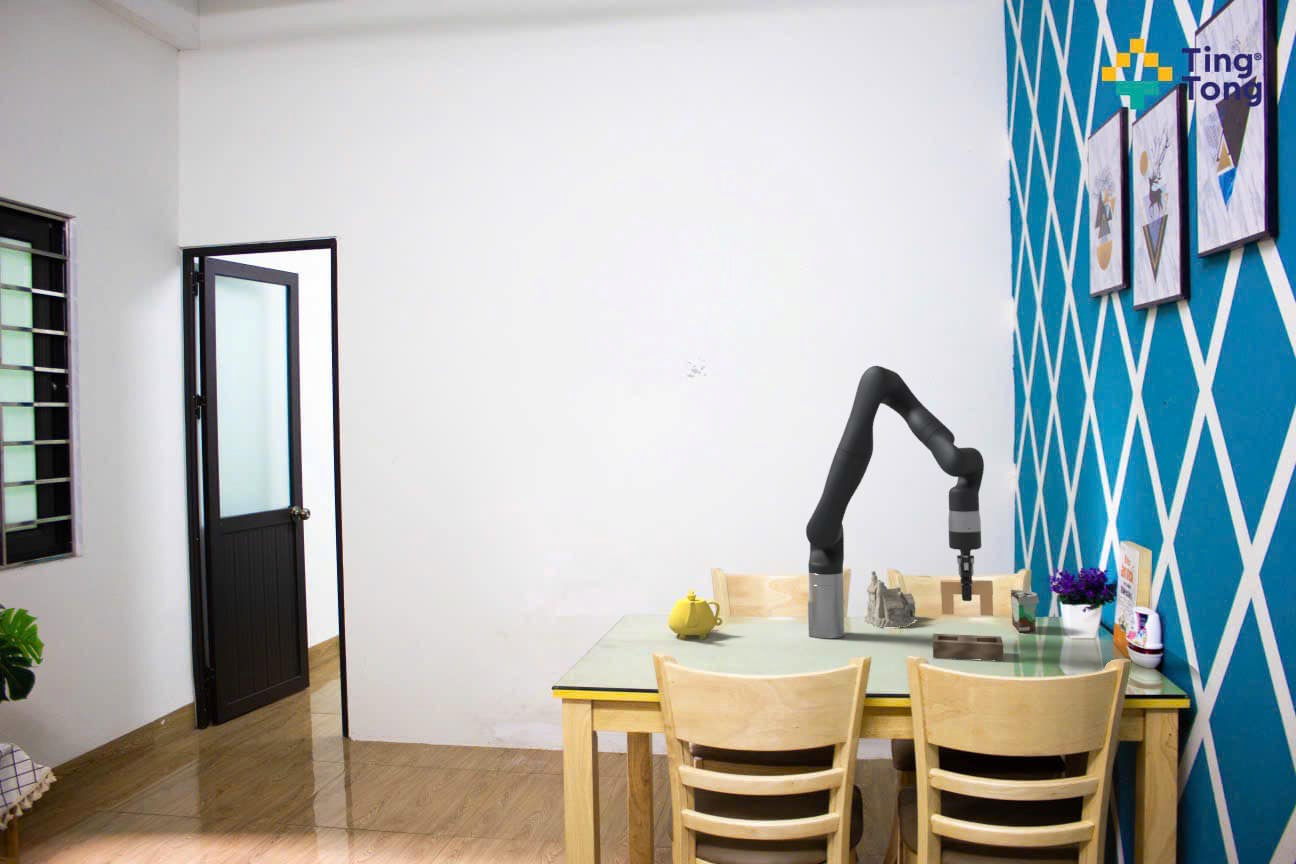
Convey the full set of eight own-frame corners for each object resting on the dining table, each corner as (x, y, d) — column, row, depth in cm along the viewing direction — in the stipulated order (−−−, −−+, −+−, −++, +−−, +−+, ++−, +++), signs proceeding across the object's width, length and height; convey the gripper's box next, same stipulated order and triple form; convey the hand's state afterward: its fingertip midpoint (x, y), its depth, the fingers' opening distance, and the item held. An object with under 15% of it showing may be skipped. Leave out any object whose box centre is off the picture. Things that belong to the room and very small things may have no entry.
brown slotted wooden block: (933, 657, 224) (932, 641, 224) (933, 649, 233) (933, 633, 233) (1003, 661, 219) (1003, 644, 219) (1001, 652, 228) (1001, 636, 228)
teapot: (724, 643, 245) (723, 600, 245) (668, 644, 245) (667, 601, 245) (720, 627, 265) (719, 587, 265) (668, 628, 265) (667, 588, 265)
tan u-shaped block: (993, 613, 226) (991, 580, 226) (993, 615, 223) (992, 582, 223) (941, 611, 229) (940, 579, 229) (941, 614, 226) (940, 581, 226)
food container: (1044, 635, 245) (1043, 597, 245) (1020, 634, 247) (1019, 597, 247) (1034, 625, 258) (1033, 589, 258) (1011, 625, 259) (1010, 589, 259)
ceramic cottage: (874, 628, 258) (876, 574, 258) (858, 619, 274) (860, 568, 275) (929, 630, 258) (931, 576, 259) (910, 620, 275) (911, 570, 275)
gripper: (981, 532, 218) (984, 605, 218) (979, 526, 232) (982, 594, 231) (948, 532, 220) (950, 604, 220) (948, 526, 234) (950, 594, 234)
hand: (966, 599), depth 226 cm, fingers closed on tan u-shaped block, 3 cm apart
